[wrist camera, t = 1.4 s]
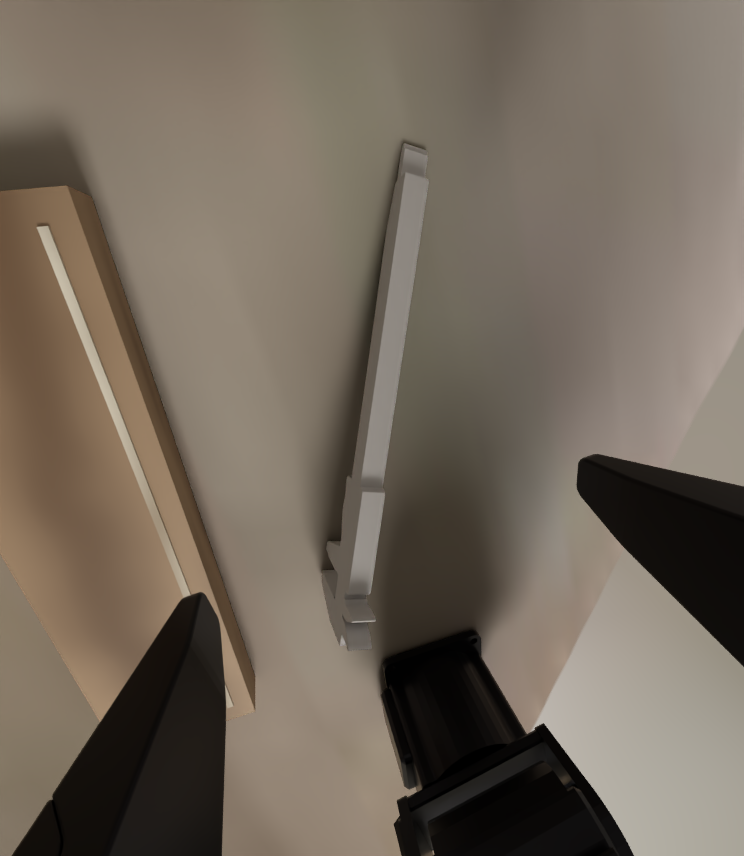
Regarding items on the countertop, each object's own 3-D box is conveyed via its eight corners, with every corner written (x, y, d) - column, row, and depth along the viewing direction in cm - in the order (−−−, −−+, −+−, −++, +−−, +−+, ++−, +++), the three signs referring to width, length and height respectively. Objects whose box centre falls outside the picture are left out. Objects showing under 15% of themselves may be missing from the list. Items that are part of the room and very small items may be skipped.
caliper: (338, 573, 22) (367, 675, 17) (319, 573, 22) (341, 677, 16) (423, 153, 16) (514, 88, 11) (398, 144, 16) (478, 73, 10)
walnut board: (91, 196, 14) (65, 184, 12) (255, 676, 23) (255, 713, 21) (-139, 217, 13) (-210, 207, 11) (131, 716, 22) (120, 759, 20)
